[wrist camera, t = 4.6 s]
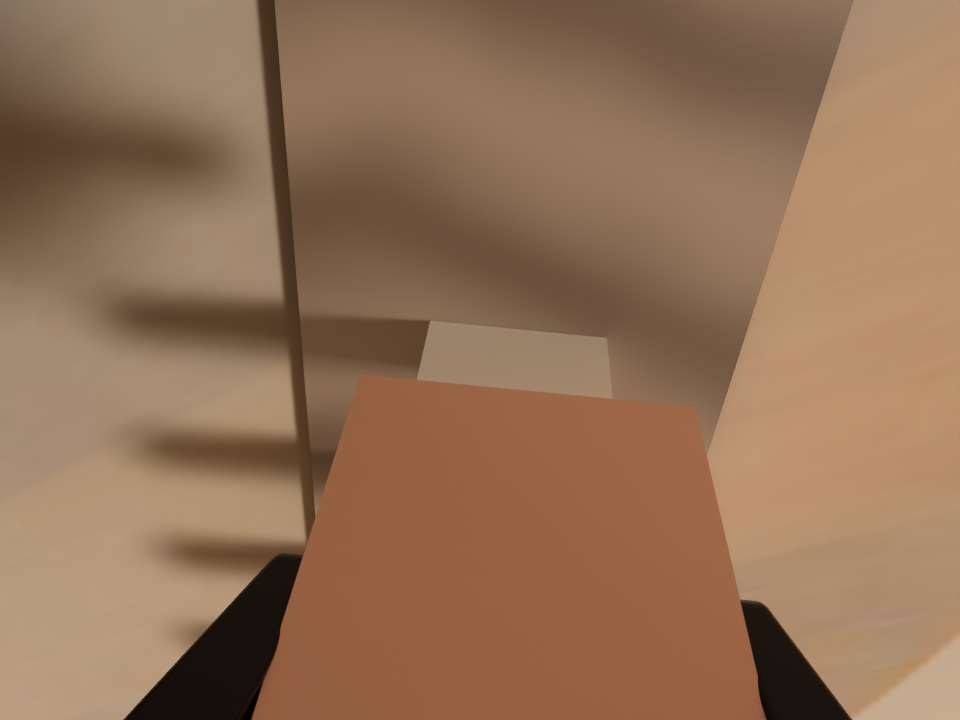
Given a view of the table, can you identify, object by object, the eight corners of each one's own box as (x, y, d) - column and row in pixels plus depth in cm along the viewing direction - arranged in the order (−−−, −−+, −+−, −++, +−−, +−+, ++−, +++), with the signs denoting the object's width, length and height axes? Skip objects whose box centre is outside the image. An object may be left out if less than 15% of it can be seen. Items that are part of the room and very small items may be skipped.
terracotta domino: (671, 486, 12) (826, 1377, 5) (362, 455, 12) (131, 1296, 6) (695, 407, 11) (917, 1364, 4) (360, 374, 11) (77, 1265, 5)
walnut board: (611, 736, 34) (612, 748, 34) (333, 707, 34) (331, 718, 34) (852, -25, 16) (860, -21, 16) (275, -76, 17) (268, -73, 16)
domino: (597, 384, 22) (617, 649, 16) (428, 367, 23) (373, 624, 16) (606, 337, 22) (632, 598, 15) (430, 320, 22) (373, 572, 15)
